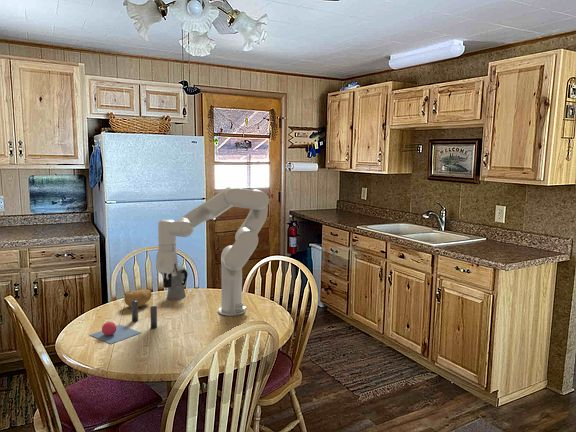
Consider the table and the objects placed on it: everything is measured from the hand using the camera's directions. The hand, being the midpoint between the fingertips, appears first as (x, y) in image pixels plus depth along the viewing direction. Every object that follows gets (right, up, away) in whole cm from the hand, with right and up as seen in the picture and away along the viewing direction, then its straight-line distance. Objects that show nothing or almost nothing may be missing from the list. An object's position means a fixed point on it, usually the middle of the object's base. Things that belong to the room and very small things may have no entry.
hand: (167, 287), depth 201 cm
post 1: (-13, -14, -5) cm, 20 cm away
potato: (-18, -12, +14) cm, 25 cm away
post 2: (-2, -15, -12) cm, 20 cm away
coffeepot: (-3, -10, +29) cm, 30 cm away
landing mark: (-16, -16, -20) cm, 30 cm away
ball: (-18, -13, -22) cm, 31 cm away
